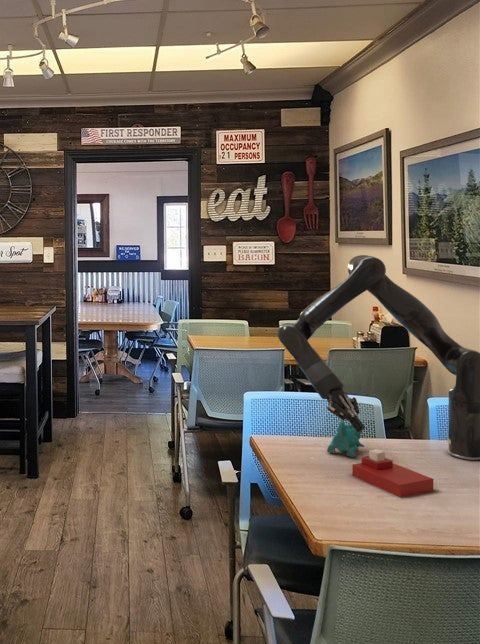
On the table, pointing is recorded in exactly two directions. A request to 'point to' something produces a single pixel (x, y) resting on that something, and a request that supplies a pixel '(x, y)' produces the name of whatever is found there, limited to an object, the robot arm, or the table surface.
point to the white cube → (377, 455)
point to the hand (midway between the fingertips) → (361, 430)
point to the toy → (345, 440)
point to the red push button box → (392, 477)
